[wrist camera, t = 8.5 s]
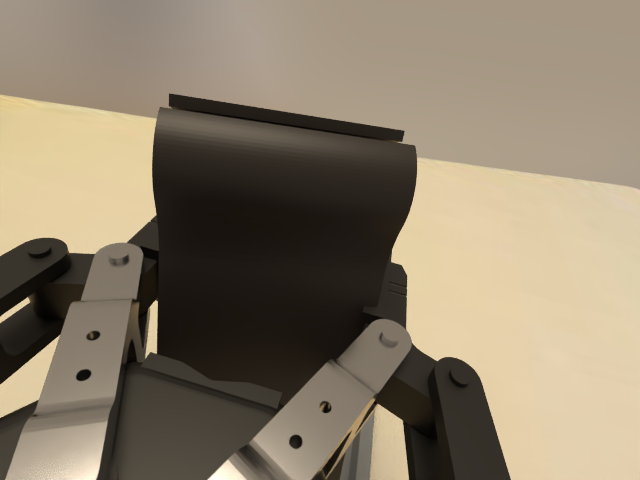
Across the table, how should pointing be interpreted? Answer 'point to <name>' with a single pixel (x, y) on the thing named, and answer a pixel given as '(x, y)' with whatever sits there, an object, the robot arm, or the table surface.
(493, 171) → the table surface
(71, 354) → the robot arm
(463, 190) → the table surface
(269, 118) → the phone stand
